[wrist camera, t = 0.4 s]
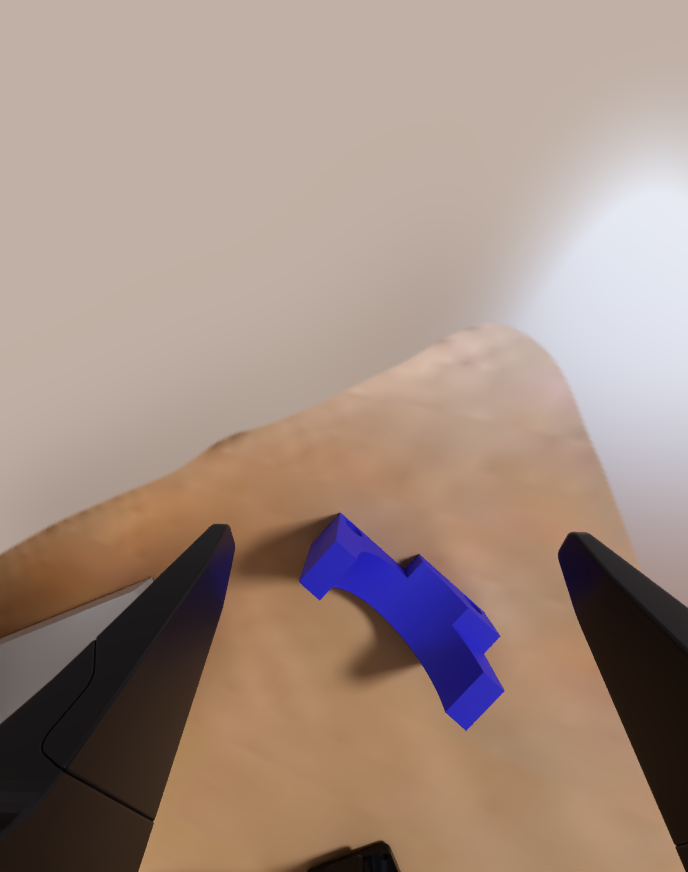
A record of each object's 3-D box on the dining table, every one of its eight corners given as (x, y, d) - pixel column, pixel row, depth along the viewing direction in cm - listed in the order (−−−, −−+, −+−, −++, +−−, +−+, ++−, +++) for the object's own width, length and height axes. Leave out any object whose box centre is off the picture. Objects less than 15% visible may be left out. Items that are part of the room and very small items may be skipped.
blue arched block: (482, 610, 24) (524, 670, 19) (438, 656, 25) (466, 730, 19) (354, 496, 24) (354, 520, 18) (312, 543, 25) (298, 581, 19)
